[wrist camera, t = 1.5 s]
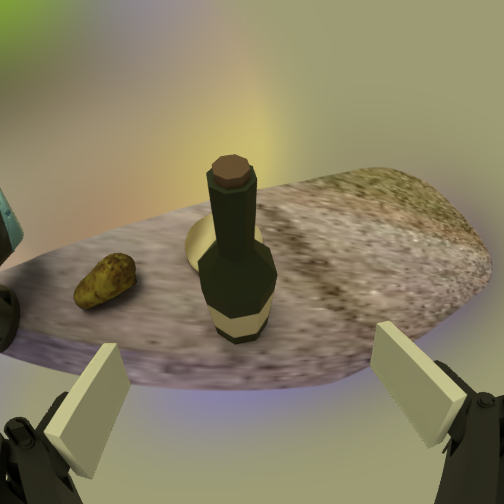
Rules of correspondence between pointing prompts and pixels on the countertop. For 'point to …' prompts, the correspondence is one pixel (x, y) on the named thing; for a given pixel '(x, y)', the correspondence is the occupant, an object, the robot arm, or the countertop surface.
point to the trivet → (204, 239)
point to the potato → (106, 281)
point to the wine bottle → (236, 255)
